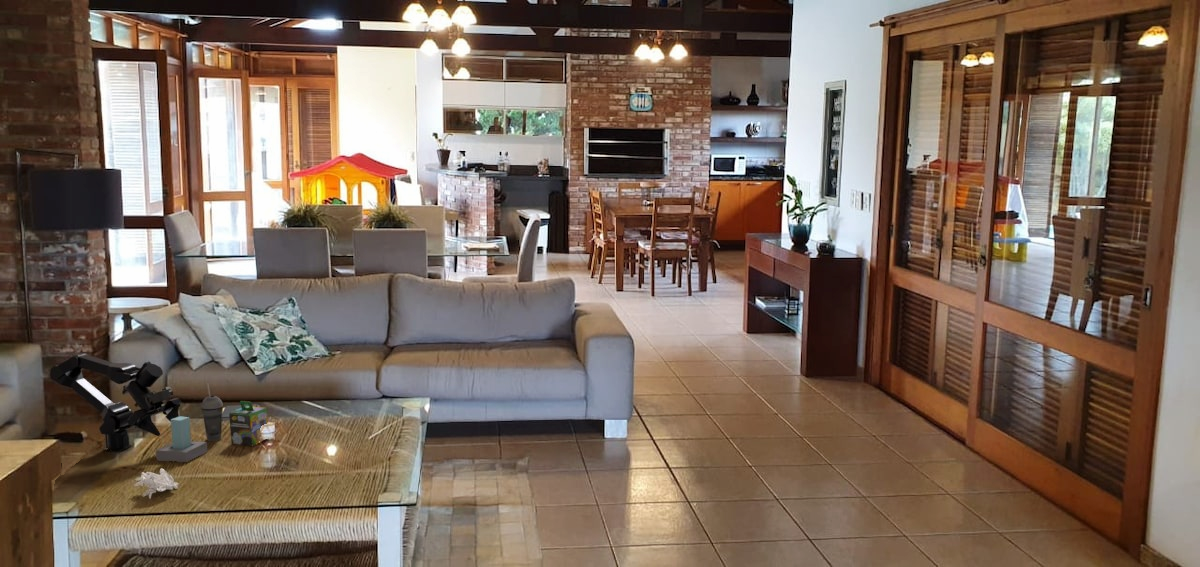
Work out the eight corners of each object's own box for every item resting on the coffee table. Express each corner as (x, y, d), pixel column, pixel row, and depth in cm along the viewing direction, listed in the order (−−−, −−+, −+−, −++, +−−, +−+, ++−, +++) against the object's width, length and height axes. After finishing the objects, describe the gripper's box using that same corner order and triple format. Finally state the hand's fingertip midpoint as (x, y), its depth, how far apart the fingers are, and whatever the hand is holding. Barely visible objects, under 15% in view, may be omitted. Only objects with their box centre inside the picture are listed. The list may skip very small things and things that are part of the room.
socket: (156, 460, 308) (156, 450, 308) (178, 450, 319) (177, 440, 318) (186, 462, 306) (185, 452, 305) (207, 452, 316) (206, 442, 316)
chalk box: (269, 439, 331) (267, 398, 329) (252, 447, 322) (249, 404, 320) (248, 436, 334) (245, 396, 332) (230, 444, 325) (227, 402, 323)
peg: (173, 457, 311) (170, 419, 309) (182, 454, 315) (179, 416, 313) (182, 458, 310) (180, 420, 308) (191, 455, 313) (189, 417, 312)
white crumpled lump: (149, 483, 270) (131, 467, 277) (144, 505, 271) (126, 488, 278) (189, 479, 279) (170, 464, 286) (184, 501, 280) (166, 484, 287)
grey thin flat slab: (254, 416, 356) (212, 418, 352) (255, 420, 356) (212, 423, 353) (262, 402, 375) (221, 404, 372) (262, 407, 375) (221, 409, 372)
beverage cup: (217, 443, 327) (213, 386, 324) (198, 441, 328) (194, 385, 325) (229, 436, 334) (226, 381, 331) (211, 435, 335) (207, 380, 332)
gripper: (132, 387, 303) (161, 424, 301) (176, 374, 321) (203, 409, 318) (115, 408, 307) (143, 445, 305) (159, 394, 324) (186, 429, 322)
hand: (170, 431), depth 313 cm, fingers open, 9 cm apart
